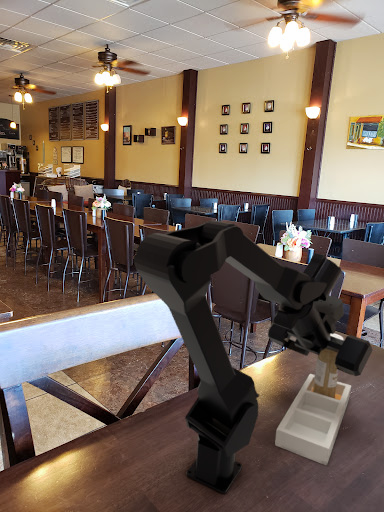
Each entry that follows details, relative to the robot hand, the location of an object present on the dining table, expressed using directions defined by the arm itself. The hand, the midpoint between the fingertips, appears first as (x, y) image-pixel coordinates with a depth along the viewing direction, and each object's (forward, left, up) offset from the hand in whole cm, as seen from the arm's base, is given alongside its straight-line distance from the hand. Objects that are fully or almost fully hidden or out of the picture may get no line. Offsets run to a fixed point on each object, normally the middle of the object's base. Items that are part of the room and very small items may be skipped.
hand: (327, 362), depth 78 cm
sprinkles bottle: (+1, 0, -8) cm, 8 cm away
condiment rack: (-7, 0, -9) cm, 11 cm away
